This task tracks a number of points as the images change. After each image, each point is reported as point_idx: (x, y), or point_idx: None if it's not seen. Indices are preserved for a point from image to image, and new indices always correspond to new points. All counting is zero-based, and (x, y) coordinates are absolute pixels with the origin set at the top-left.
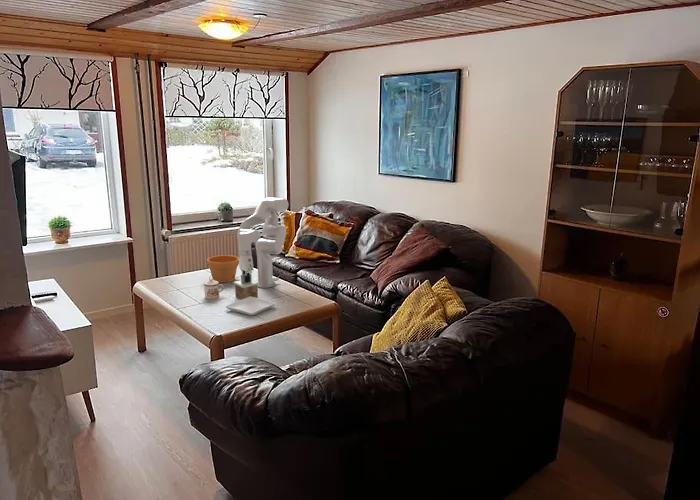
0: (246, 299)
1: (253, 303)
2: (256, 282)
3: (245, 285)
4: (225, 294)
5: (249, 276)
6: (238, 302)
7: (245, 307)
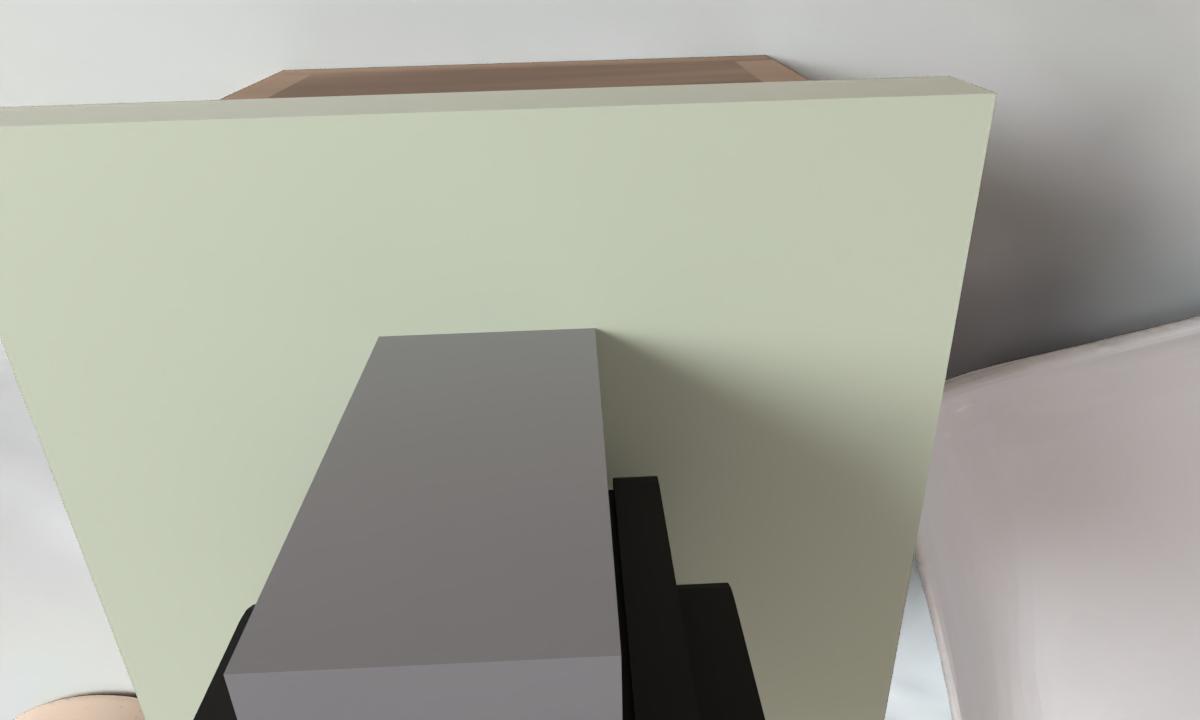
0: (936, 517)
1: (1147, 428)
2: (862, 178)
3: (867, 713)
4: (82, 569)
5: (689, 710)
6: (975, 709)
7: (1166, 625)
